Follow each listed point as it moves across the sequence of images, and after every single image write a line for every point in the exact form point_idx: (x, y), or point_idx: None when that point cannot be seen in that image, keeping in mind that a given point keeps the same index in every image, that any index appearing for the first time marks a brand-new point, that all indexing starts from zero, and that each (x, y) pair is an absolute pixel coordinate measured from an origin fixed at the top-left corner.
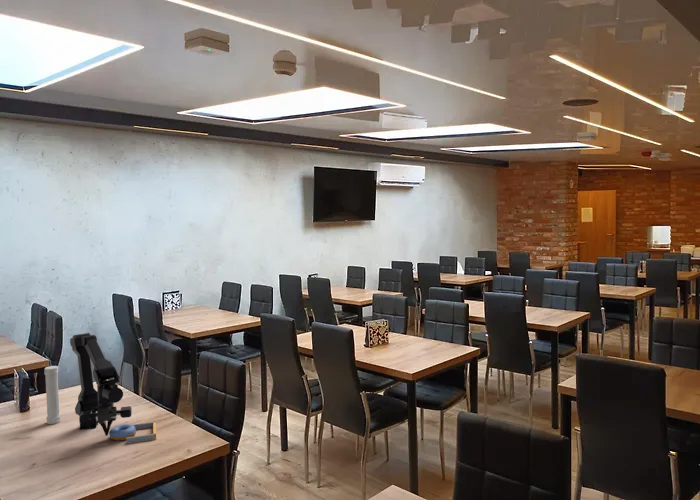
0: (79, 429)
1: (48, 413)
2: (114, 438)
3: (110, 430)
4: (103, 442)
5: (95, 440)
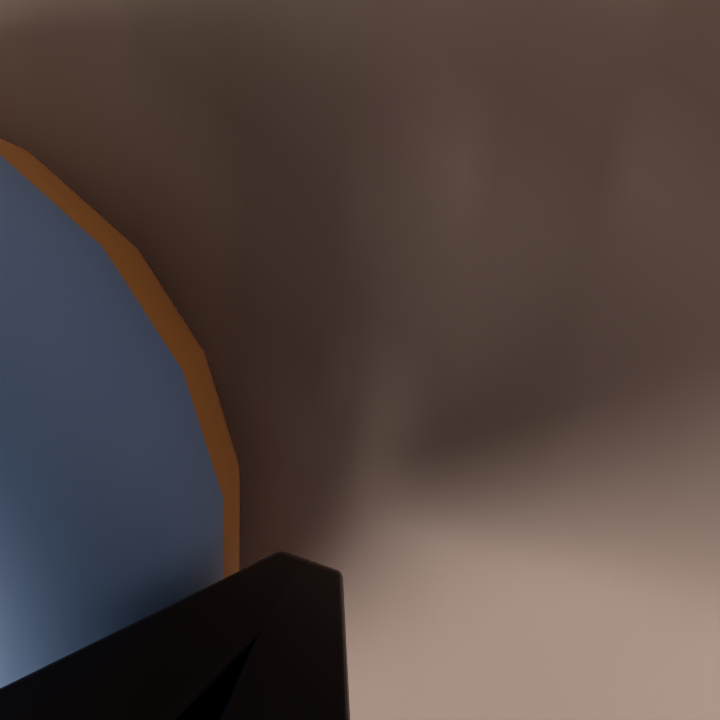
0: None
1: None
2: (114, 235)
3: None
4: (476, 350)
5: (655, 663)
